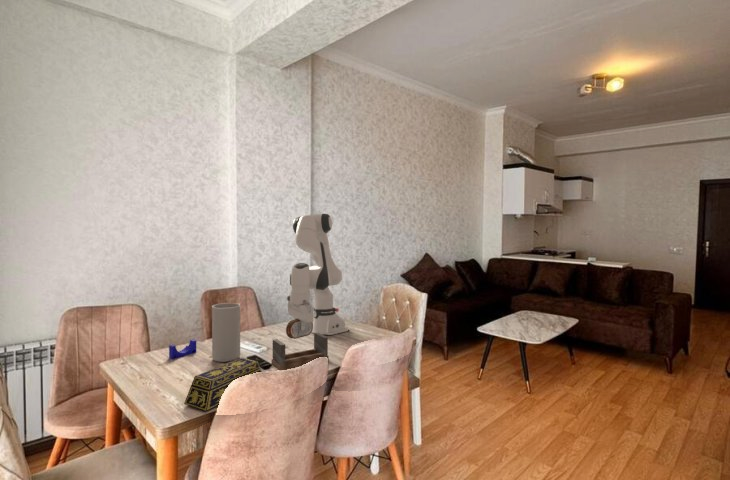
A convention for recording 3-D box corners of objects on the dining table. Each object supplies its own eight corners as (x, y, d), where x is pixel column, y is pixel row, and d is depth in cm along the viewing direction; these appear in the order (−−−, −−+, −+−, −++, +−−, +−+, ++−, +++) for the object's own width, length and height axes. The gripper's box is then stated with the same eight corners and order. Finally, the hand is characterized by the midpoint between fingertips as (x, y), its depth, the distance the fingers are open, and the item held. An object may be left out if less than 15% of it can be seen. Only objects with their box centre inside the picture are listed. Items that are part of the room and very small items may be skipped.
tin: (309, 333, 185) (308, 316, 186) (314, 334, 184) (313, 316, 184) (285, 340, 173) (284, 321, 174) (290, 340, 172) (289, 321, 172)
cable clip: (191, 350, 194) (191, 338, 194) (196, 352, 192) (196, 340, 192) (167, 357, 185) (167, 344, 184) (172, 359, 182) (172, 346, 182)
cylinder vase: (231, 363, 177) (231, 308, 176) (206, 361, 179) (206, 307, 178) (245, 354, 189) (245, 303, 188) (221, 352, 191) (221, 302, 190)
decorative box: (183, 404, 137) (183, 379, 136) (246, 375, 163) (246, 354, 163) (205, 411, 132) (205, 385, 132) (266, 380, 158) (266, 358, 158)
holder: (318, 354, 190) (318, 332, 190) (328, 360, 182) (328, 337, 182) (271, 363, 177) (271, 339, 176) (279, 370, 168) (280, 345, 168)
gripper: (317, 302, 172) (316, 333, 172) (297, 295, 188) (297, 323, 189) (303, 303, 168) (303, 335, 168) (285, 296, 185) (285, 325, 185)
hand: (300, 328), depth 179 cm, fingers closed on tin, 3 cm apart
